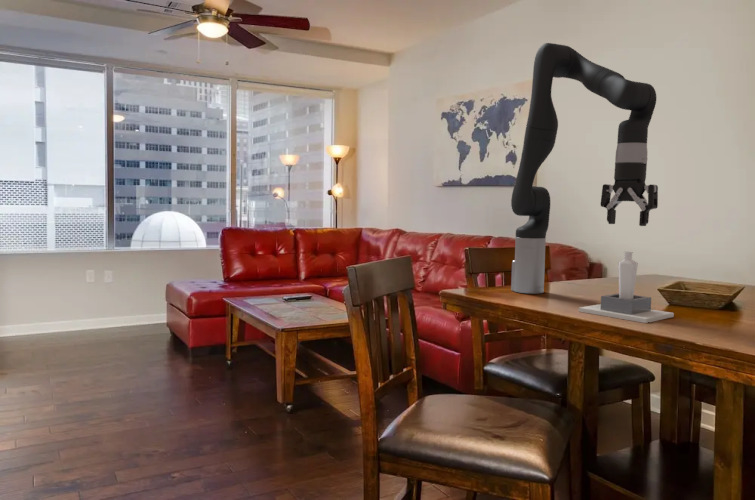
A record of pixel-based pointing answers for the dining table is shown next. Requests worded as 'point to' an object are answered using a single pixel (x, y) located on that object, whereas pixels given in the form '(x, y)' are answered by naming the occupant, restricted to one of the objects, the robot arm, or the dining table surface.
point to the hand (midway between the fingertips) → (626, 224)
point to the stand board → (639, 317)
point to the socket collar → (626, 304)
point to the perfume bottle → (627, 276)
